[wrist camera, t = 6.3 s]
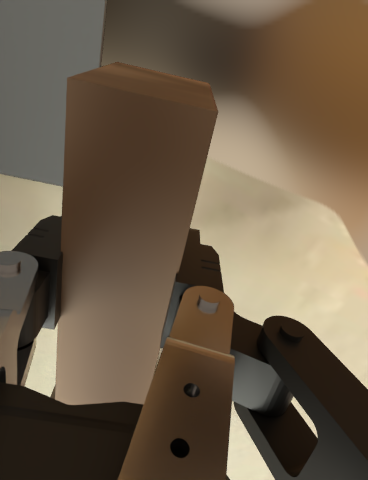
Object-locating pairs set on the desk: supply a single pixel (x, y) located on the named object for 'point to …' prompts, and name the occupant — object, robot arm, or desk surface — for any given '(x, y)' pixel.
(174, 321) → the robot arm
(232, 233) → the desk surface
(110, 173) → the stick
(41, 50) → the mat
